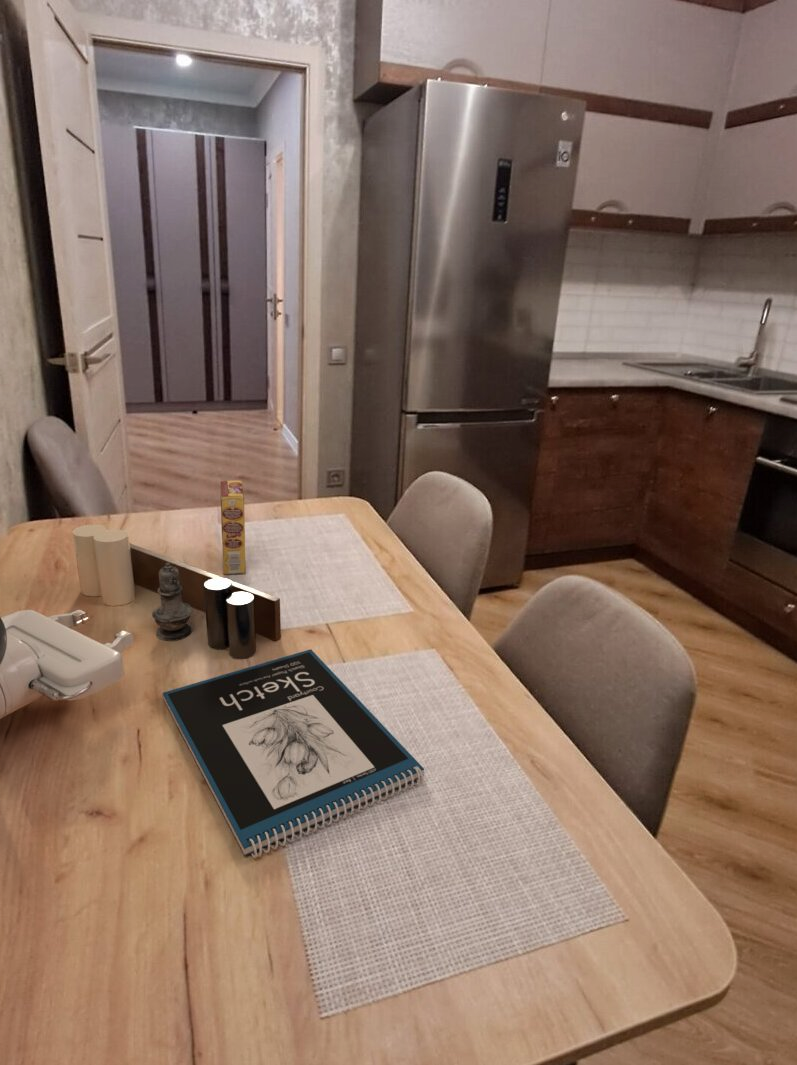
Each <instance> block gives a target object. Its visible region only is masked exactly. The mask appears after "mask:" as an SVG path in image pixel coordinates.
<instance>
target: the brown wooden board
mask: <svg viewBox="0 0 797 1065" xmlns="http://www.w3.org/2000/svg"><path fill="white" fill-rule="evenodd" d="M129 544H130V552H131V561H132V569H133V577H134V585H137V586H139V587H142V588H144V589H147V590H149V591H151V592H154V593H155V594H158V595H160V594H159V593H158V589H159V588H160V581H159V571H160V569H161V568H163V567H165V566H166V565H165V564H166V563H167V562H169V563H170V566H173V567H175V568H177V570H178V572H179V583H180V586H182V588H183V590H182V591H181V600H182V602H183V603H185V604H188V605H190V606H191V607H192V609H196V610H198V611H201V612H203V613H205V614H206V612H205V599H204V583H205V582H206V581H207V580H209V579H213V578H224V577H223V576H220V575H217V574H215V573H212V572H210V571H206V570H204V569H201V568H198V567H195V566H194V565H190V564H187V563H185V562H182V561H179V560H177V559H173V558H171V557H169V556H166V555H163V554H160V553H157V552H156V551H152V550H149V549H147V548H144V547H141V546H138V545H135V544H133V543H131V542H129ZM229 580H230V581H231V582H232V593H235V592H248V593H251V594H252V595H253V596H254V604H255V628H256V635H259V636H262V637H263V638H267V639H269V640H271V641H273V642H278V641H279V640H280V639H282V630H281V628H282V626H281V625H282V624H281V623H282V622H281V598H280V597H277V596H274V595H272V594H269V593H266V592H264V591H261V590H258V589H255V588H252V587H251V586H248V585H244V584H242V583H239V582H236V581H234V580H231V579H229Z"/></svg>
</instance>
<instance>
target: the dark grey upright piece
mask: <svg viewBox="0 0 797 1065" xmlns="http://www.w3.org/2000/svg"><path fill="white" fill-rule="evenodd" d="M165 565H166V566H165V567H163V568H161V569H160V571H159V581H160V588H159V589H158V593H159V594H158V593H157V594H158V595H160V596H159V597H160V605H159V606H156V607H155V608H154V609H153V610H152V612H151V616H152V618H153V619H154V621H155V623H156V625H157V626H158V629H157V630H156V632H155V635H156V637H157V638H158V639H159V640H162V641H166V642H175V641H180V640H183V639H185V638H187V637H189V636H190V635H191V634H192V632H193V627H192V626H191V625H190V624H189V622H190V620H191V617H192V616H191V615H192V614H193V607H191V606H190V605H188V604H185V603H183V602H182V600H181V591H182V590H183V588H182V586H180V583H179V572H178V570H177V568H175V567H173V566H170V563H169V562H167V563H166V564H165Z"/></svg>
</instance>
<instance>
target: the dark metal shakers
mask: <svg viewBox="0 0 797 1065" xmlns="http://www.w3.org/2000/svg"><path fill="white" fill-rule="evenodd" d="M230 580H231V579H229V578H226V577H223V578H213V579H209V580H207V581H206V582H205V583H204V599H205V612H206V613H205V612H204V613H205V624H206V638H207V646H208V647H209V648H211V649H213V650H225V649H228V654H229V656H230V657H231V658H234V659H236V660H243V659H244V660H245V659H249V658H252V657H253V656H254V655H255V654H256V653H257V633H256V628H255V604H254V596H253V595H252V594H251V593H248V592H235V593H232V582H231V581H232V580H231V581H230Z"/></svg>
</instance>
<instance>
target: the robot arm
mask: <svg viewBox="0 0 797 1065" xmlns="http://www.w3.org/2000/svg"><path fill="white" fill-rule="evenodd" d="M89 621H90V619H89V613H88V612H86V611H85V610H82V609H77V610H75V611H72V612H70V613H59V614H53V615H51V616H46V615H44V614H42V613H40V612H38V611H35V610H34V609H21V610H17V611H15V612H12V613H9V614H6V615H4V616H0V720H1V719H3V718H5V717H7V716H8V715H10V714H12V713H14V712H16V711H18V710H19V709H22V708H24V707H25V706H27V705H29V704H31V703H33V702H35V701H37V700H38V699H40V698H41V696H42V695H44V696H46V697H47V699H49V700H51V701H53V702H58V701H59V700H60V701H77V700H83V699H84V698H87V697H89V696H92V695H94V694H96V693H99V692H101V691H103V690H106V689H107V688H109V687H111V686H113V685H115V684H117V683H119V682H120V681H121V680H122V679H123V676H124V674H125V667H124V660H123V655H122V654H123V652H124V650H126V649H127V648H129V647H131V646H132V645H133V644H134V642H135V640H134V634H133V633H131V632H130V631H127V630H125V629H123V630H121V631H119V632H117V633H115V634H114V640H113V642H106V643H104V644H103V643H101V642H99V641H97V640H94V639H93V638H91V637H89V636H87V635H85V634H84V633H83V634H82V633H80V632H79V631H76V630H74V629H73V627H75V628H80V627H83V626H84V625H87V624H88V623H89Z"/></svg>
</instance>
